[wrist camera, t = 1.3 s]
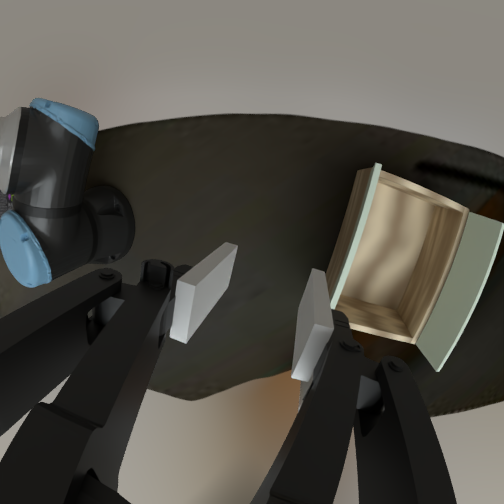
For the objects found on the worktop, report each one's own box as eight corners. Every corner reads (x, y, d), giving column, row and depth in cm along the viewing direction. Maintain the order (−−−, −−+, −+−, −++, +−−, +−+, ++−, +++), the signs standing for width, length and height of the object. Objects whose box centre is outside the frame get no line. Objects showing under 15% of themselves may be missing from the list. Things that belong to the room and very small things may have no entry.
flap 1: (325, 321, 33) (321, 319, 33) (376, 171, 28) (371, 169, 28) (318, 346, 27) (313, 344, 27) (382, 164, 22) (375, 162, 22)
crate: (319, 291, 43) (321, 320, 34) (357, 170, 38) (372, 167, 28) (397, 313, 42) (414, 344, 32) (438, 202, 36) (469, 209, 26)
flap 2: (469, 212, 26) (472, 213, 26) (415, 343, 32) (418, 344, 32) (502, 222, 20) (504, 224, 20) (436, 371, 25) (439, 371, 25)
